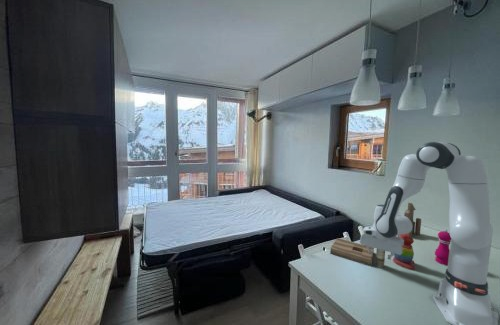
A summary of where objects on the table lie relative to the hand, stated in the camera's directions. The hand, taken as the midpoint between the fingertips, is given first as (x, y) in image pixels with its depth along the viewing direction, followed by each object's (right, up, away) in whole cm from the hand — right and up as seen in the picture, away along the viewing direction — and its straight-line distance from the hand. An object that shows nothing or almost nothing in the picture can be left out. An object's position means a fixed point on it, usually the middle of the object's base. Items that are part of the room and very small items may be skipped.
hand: (379, 256), depth 115 cm
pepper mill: (+40, -6, +5) cm, 41 cm away
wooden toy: (+52, -4, +43) cm, 68 cm away
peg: (0, -5, 0) cm, 5 cm away
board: (-9, -4, +13) cm, 16 cm away
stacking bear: (+16, -6, +3) cm, 17 cm away
